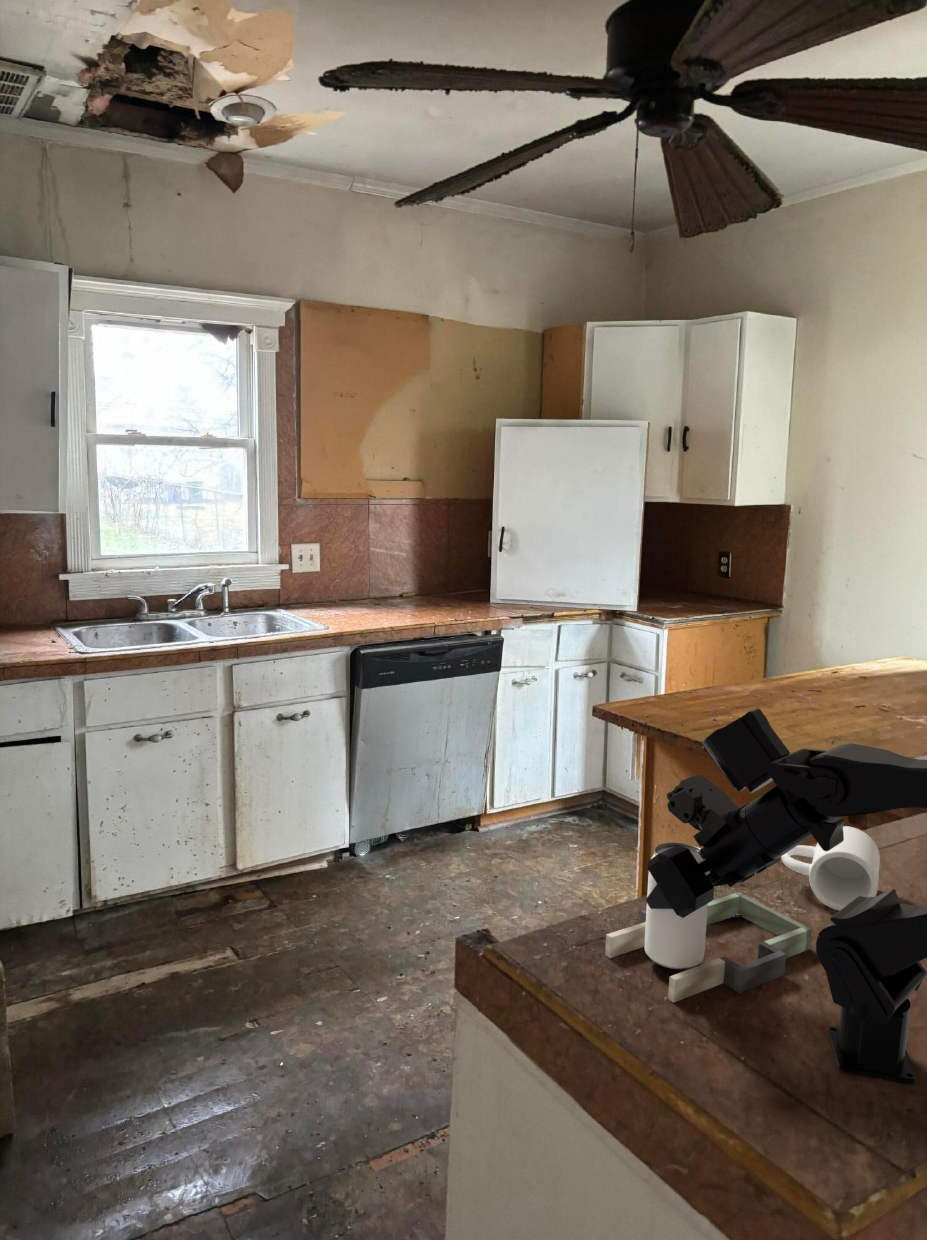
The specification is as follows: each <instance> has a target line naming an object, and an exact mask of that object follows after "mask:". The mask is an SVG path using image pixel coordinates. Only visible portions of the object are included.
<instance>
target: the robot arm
mask: <svg viewBox="0 0 927 1240" xmlns="http://www.w3.org/2000/svg"><path fill="white" fill-rule="evenodd" d="M702 745H703V746H704V748H706V750H707V751H708V753H709V754H710V756H711V758H712V759H713V761H715V763H716V764H717V767H719V769H720V770H721V772H722V773H723V775H724V776H725V777H726V779H727V780H728V781H729V782H730V784H731V786H732V787H733V789H734V790H737V791H738V792H739V793H740V792H742V791H743V790H745V789H746V790H747V791H748V793H749V794H752V793H755V792H756V791H759V790H760V789H762V788H763V787H765V786H767V785H769V784H770V783H772V782H774V784H775V785H774V786H773V787H771V788H770V789H768V791H766V792H764V793H763V794H761V795H760V796H759V797H757V798H756V799H754V800H753V801H751V802H748V803H746V804H744V805H742V806H740V807H739V806H738V805H737V803H736V802H734V801H733V800H732V798H731V796H729V795H728V794H727V793H726V792H724V791H723V790H722V789H720V788H719V787H718V786H717V785H716V784H714V783H713V782H712V781H711V780H709V779H708V778H707V777H706V776H703V775H700V774H695V775H693V776H691V777H687V778H685V779H683V780H680V782H678V785H676V786H675V787H674V789H673V790H671V791H669V792H668V793H667V794H666V798H667V800H668V802H667V805H666V806H667V810H668V812H669V813H671V815H673V816H674V817H675V818H676V819H678V821H680V822H681V823H683V824H688V825H690V826H691V828H694V829H695V830H697V831H698V832H697V833H695V834H694V835H693V836H692V837H693V839H694V840H695V841H696V843H697V844H698V847H699V848H700V847H702V848H700V850H699V851H698V853H699V855H700V856H701V857H702V859H706V860H705V861H703V862H701V863H699V864H698V862H697V861H696V859H695V858H694V856H693V854H692V853H691V851H690V850H689V849H688V848H685V847H683V846H680V845H676V846H674V847H672V848H670V849H668V850H666V851H663V852H661V853H659V854H658V855H656V856H655V857H654V858H652V857H651V858H652V859H651V858H650V859H649V860H648V861H647V870H648V873H649V872H650V873H651V875H652V876H653V878H654V880H655V881H656V883H657V885H656V886H655V887H654V889H653V890H652V892H651V893H650V894H649V896H648V897H647V896H646V899H645V902H646V905H647V904H648V905H649V907H650V908H651V909H673V910H674V912H675V913H676V915H678V916H680V917H682V918H684V917H686V916H688V915H689V914H691V913H693V912H694V911H696V910H698V909H699V908H701V907H703V906H704V905H706V904H708V903H709V902H711V901H713V900H714V898H715V897H714V896H715V894H714V893H715V887H718V886H725V885H727V886H728V887H729V888H731V887H733V886H734V885H737V884H740V883H744V882H746V881H747V880H749V879H751V878H752V877H755V873H756V875H759V874H761V873H762V872H764V871H766V870H767V869H770V868H771V867H773V866H774V865H776V864H778V863H779V862H780V861H781V859H782V858H781V856H782V855H784V854H786V853H787V852H788V851H790V850H791V849H793V848H794V847H796V846H798V845H800V844H802V843H804V842H805V841H806V842H807V840H809V839H811V838H813V839H814V840H815V841H816V844H817V843H818V844H819V845H820V847H821V848H822V849H823V850H824V851H829V850H831V849H832V848H834V847H835V846H837V845H838V844H840V843H842V842H843V840H844V834H843V826H844V824H845V822H846V821H845V819H844V818H843V817H850V816H859V815H861V816H862V815H870V814H875V813H876V814H877V813H881V812H886V811H891V810H896V809H897V810H898V809H906V808H907V809H909V808H913V809H926V810H927V759H918V758H913V757H908V756H905V755H902V754H899V753H895V752H893V751H892V750H891V751H890V750H888V749H883V748H878V747H875V746H874V747H873V746H867V745H863V744H857V743H852V742H851V743H845V744H844V743H841V744H839V745H837V746H835V747H833V748H830V749H829V750H825V749H813V748H800V749H798V750H795V751H793V752H790V750H789V749H788V748H787V746H786V745H785V744H784V742H783V741H782V740H781V738H780V737H779V735H778V734H777V733H776V732H775V730H774V729H773V727H772V726H771V723H770V722H769V719H768V718H767V716H766V715H765V713H764V712H763V711H762V710H761V709H760V708H755V709H752V710H749V711H747V712H746V713H745V714H744V715H742V716H741V717H739V718H737V719H735V720H734V721H731V722H730V723H728V724H727V725H725V726H723V727H721V728H720V727H719V728H717V729H716V730H714V731H713V732H712V733H710V734H709V735H708V736H707V737H706V738H705V739H704V740H703V741H702ZM708 871H710V874H708V875H706V874H705V873H707V872H708ZM830 921H831V922H830V923H829V924H827V926H825V927H824V928H822V930H820V931H819V932H818V936H817V939H816V941H815V951H816V955H817V958H818V961H819V963H820V964H821V966H822V968H823V970H824V971H825V974H826V979H827V982H828V985H829V990H830V994H831V997H832V1001H833V1004H835V1005H837V1006H840V1017H839V1023H838V1024H839V1025H838V1026H834V1025H833V1026H831V1025H829V1026H828V1027H827V1033H828V1037H829V1041H830V1043H831V1047H832V1051H833V1054H834V1057H835V1061H836V1064H837V1068H838V1069H839V1070H840V1071H841V1072H843V1073H849V1074H855V1075H860V1076H865V1077H866V1076H867V1077H872V1078H879V1079H883V1080H890V1081H891V1080H892V1081H897V1082H901V1083H902V1082H903V1083H909V1084H914V1083H916V1080H917V1079H916V1078H917V1076H916V1074H915V1071H914V1069H913V1067H912V1064H911V1062H910V1059H909V1057H908V1055H907V1053H906V1048H907V1039H908V1037H907V1036H908V1030H909V1022H910V1014H911V1005H912V1004H911V1002H910V999H909V998H910V997H911V996H912V995H913V993H914V992H916V991H918V990H919V989H920V987H921V985H922V984H923V982H924V981H925V979H926V978H927V971H926V969H925V968H924V966H923V965H922V964H921V961H923V960H925V959H927V904H922V905H921V904H920V905H913V904H907V903H901V902H900V900H899V897H898V893H897V891H896V889H895V888H892V889H890V890H888V891H886V892H883V893H881V894H879V895H876V896H875V897H862V896H858V897H857V898H856V899H854V900H853V901H852V902H851V903H849V904H848V905H847V906H845V907H844V908H843V909H841V910H840V911H837V912H836V913H835V914H834V915H832V916H831V917H830Z"/></svg>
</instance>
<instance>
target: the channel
mask: <svg viewBox="0 0 927 1240" xmlns="http://www.w3.org/2000/svg"><path fill="white" fill-rule="evenodd" d="M736 914H740V915H742V916H743V917H744V918H743V917H742V918H743V919H745V920H747V921H749V922H751V923H752V924H754V925H757V926H758V927H760V928H762V929H763V930H766V931H768V932H769V933H771V934H773V935H775V937H773V938H770V939H767V940H764V941H761V942H759V943H758V953H757V959H755V960H752V961H750V962H747V963H745V964H741V965H740V964H738V963H737V962H735V961H733V960H732V959H730V958H728V957H727V956H721V957H719V958H715V959H713V960H711V961H708V962H705V963H702V964H699V965H697V966H696V967H693V968H690V969H685V970H684V971H680V972H679V973H676V974H673V975H671V976H669V980H668V981H669V982H668V992H667V993H668V995H667V999H668V1000H669V1001H670V1002H672V1003H673V1004H674V1003H677V1002H680V1001H681V1000H683V999H687V998H690V997H692V996H694V995H697V994H700V993H702V992H705V991H708V990H710V989H713V988H715V987H717V986H719V985H722V984H724V985H725V986H727V987H729V988H730V989H732V990H734V991H735V992H737V993H738V994H742V993H744V992H747V991H749V990H752V989H754V988H757V987H759V986H761V985H764V984H766V983H769V982H772V981H774V980H775V979H776V980H777V979H778V978H779V979H780V978H781V977H783V976H785V974H786V973H785V972H786V962H787V961H786V959H788V958H791V957H793V956H796V955H798V954H801V953H803V952H804V953H805V952H806V951H808V950H810V949H811V938H812V930H813V929H812V928H810V927H808V925H807V926H806V925H805V924H803V923H801V922H798V921H797V920H795V919H793V918H791V917H789V916H787V915H785V914H784V913H781V912H779V911H778V910H776V909H773V908H771V907H769V906H768V905H766V904H763V903H762V902H759V901H758V900H755V899H753V898H751V897H749V896H748V895H746V894H744V893H742V892H741V891H738V892H735V893H732V894H728V895H726V896H723V897H718V898H716V899H713V900H712V901H711V902H709V903H708V909H707V924H706V927H707V926H710V925H712V924H715V923H718V922H720V921H724V920H727V919H730V918H732V917H731V916H733V915H736ZM736 916H737V915H736ZM733 917H734V916H733ZM645 927H646V909H644V910H641V912H640V923H638V924H635V925H632V926H628V927H625V928H623V929H619V930H616V931H613V932H609V933H606V935H605V949H604V952H605V953H604V955H605V957H606V958H608V959H613V958H615V957H618V956H620V955H624V954H627V953H630V952H632V951H637V950H639V949H642V948H645Z"/></svg>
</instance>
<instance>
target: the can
mask: <svg viewBox="0 0 927 1240" xmlns="http://www.w3.org/2000/svg"><path fill="white" fill-rule="evenodd" d="M676 845H680V846H683V847H685V848H688V849H689V850H690V851H691V853H692V854H693V856H694V858H695V859H696V861H697V862H698V864H699V863H701V862H703V861H705V860H706V859H702V857H701V856H700V855H699V853H698V851H699V850H700V849H701V848H700V847H699V846H695V845H692V844H688V843H684V842H673V841H672V842H663V843H660V844H658V845H656V846H655V847H654V849H653V852H654V853H653V855H652V856H651V858H650V860H651V859H652V858H654V857H655V856H656V855H658V854H659V853H661V852H663V851H666V850H668V849H670V848H672V847H674V846H676ZM705 874H706V875H708V874H710V871H708V872H707V873H705ZM647 876H648V877H647V878H648V881H647V892H646V893H647V895H646V898H647V897H648V896H649V894H650V893H651V892H652V890H653V889H654V887H655V886H656V885H657V883H656V881H655V880H654V878H653V876H652V875H651V873H650V872H649V871H648V875H647ZM707 909H708V904H706V905H704V906H703V907H701V908H699V909H698V910H696V911H694V912H693V913H691V914H689V915H688V916H686V917H684V918H682V917H680V916H678V915H676V913H675V912H674V910H673V909H651V908H650V907H649V905H648V904H647V903H646V909H645V910H646V927H645V947H644V951H645V954H646V955H647V956H648V958H649V960H651V961H652V962H653V963H655V964H657V965H659V966H661V967H664V968H668V969H673V970H689V969H691V968H694V967H697V966H699V965H700V964H701V963H702V962H703V961H704V959H705V950H706V949H705V948H706V937H707V934H706V933H707V926H706V924H707Z"/></svg>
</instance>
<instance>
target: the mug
mask: <svg viewBox="0 0 927 1240" xmlns="http://www.w3.org/2000/svg"><path fill="white" fill-rule="evenodd" d="M843 834H844V840H843V842H842V843H840V844H838V845H837V846H835V847H834V848H832V849H831V850H829V851H824V850H823V849H822V848H821V847H820V845H819V844H818V843H817V842H816V846H812V845H803V844H802V845H800V844H799V845H798V846H796V847H794V848H793V849H791V850H790V851H788V852H787V853H786V854H784V855H782V856H781V858H780V859H781V861H782V863H783V864H784V865H785V866H786V867H787V868H788V869H790V870H792V871H794V872H796V873H798V874H802V875H805V876H808V878H809V885H810V888H811V890H812V892H813V894H814V896H815V897H816V898H817V899H818V900H819V901H820V902H821V903H822V904H823V905H824V906H826V907H828V908H829V909H832V910H834V911H837V910H838V911H837V912H839V911H840V910H841V909H843V908H844V907H845V906H847V905H848V904H849V903H851V902H852V901H853V900H854V899H856V898H857V897H858V896H862V897H876V896H877V893H878V889H879V876H880V875H879V874H880V861H881V859H880V858H881V856H880V850H879V847H878V845H877V844H876V842H875V841H874V839H872V838H871V836H870V835H869V834H867V833H866V832H864V831H863V830H861V829H859V828H856V827H852V826H847V825H845V826H844V825H843ZM791 856H800V857H801V856H803V857H808V858H812V860H811V861H812V862H811V863H808V862H803V861H800V860H798V859H795V858H793V857H791Z"/></svg>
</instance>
